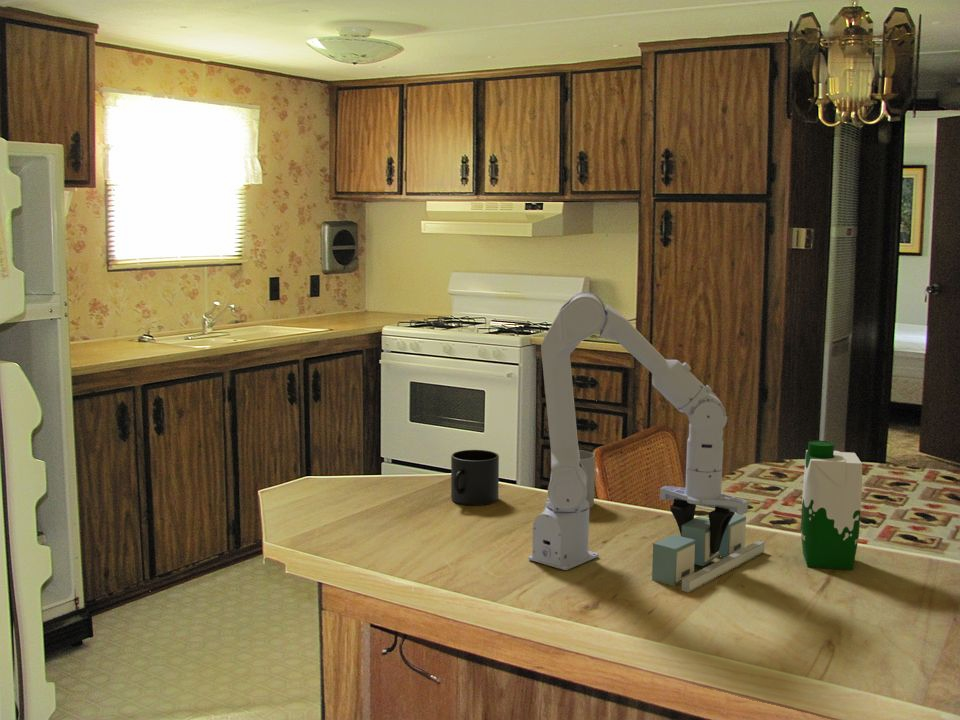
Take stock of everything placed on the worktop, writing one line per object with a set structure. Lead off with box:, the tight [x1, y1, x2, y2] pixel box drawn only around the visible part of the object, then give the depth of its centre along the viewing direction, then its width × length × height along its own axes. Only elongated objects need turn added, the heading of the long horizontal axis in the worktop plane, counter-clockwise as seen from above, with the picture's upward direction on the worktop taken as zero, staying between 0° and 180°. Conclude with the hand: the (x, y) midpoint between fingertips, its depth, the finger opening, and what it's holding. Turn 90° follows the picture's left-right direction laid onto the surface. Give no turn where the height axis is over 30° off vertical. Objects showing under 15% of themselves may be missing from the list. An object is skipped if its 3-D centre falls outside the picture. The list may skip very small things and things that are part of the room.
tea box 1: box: [651, 534, 695, 587], centre depth 163 cm, size 6×4×6 cm
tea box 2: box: [680, 516, 719, 567], centre depth 169 cm, size 6×4×6 cm
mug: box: [450, 449, 500, 507], centre depth 204 cm, size 9×12×9 cm
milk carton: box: [800, 440, 863, 571], centre depth 169 cm, size 9×9×20 cm
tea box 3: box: [718, 513, 747, 558], centre depth 175 cm, size 6×4×6 cm
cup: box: [579, 449, 596, 509], centre depth 202 cm, size 8×8×10 cm
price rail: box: [681, 540, 766, 593], centre depth 166 cm, size 25×1×2 cm, turn 138°
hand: (700, 548), depth 169 cm, fingers closed on tea box 2, 4 cm apart
